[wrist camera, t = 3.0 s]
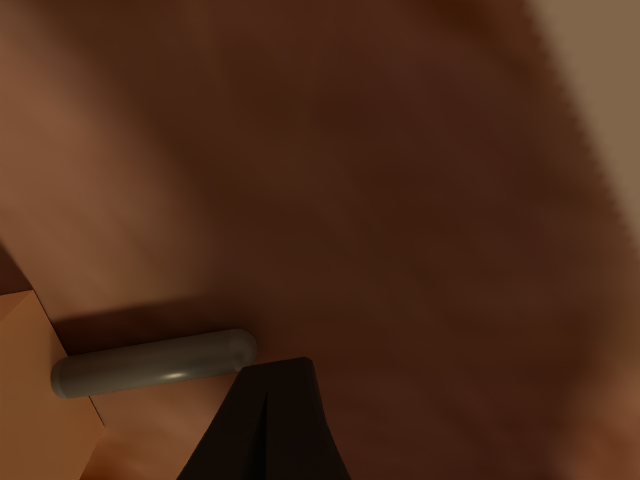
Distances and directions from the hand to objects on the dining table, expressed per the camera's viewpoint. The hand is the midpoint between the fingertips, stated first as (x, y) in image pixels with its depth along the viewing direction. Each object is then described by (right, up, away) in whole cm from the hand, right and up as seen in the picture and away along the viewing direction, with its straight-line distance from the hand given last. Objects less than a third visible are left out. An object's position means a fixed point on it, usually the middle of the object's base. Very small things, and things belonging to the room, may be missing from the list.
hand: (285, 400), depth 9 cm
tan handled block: (-5, 0, +2) cm, 6 cm away
